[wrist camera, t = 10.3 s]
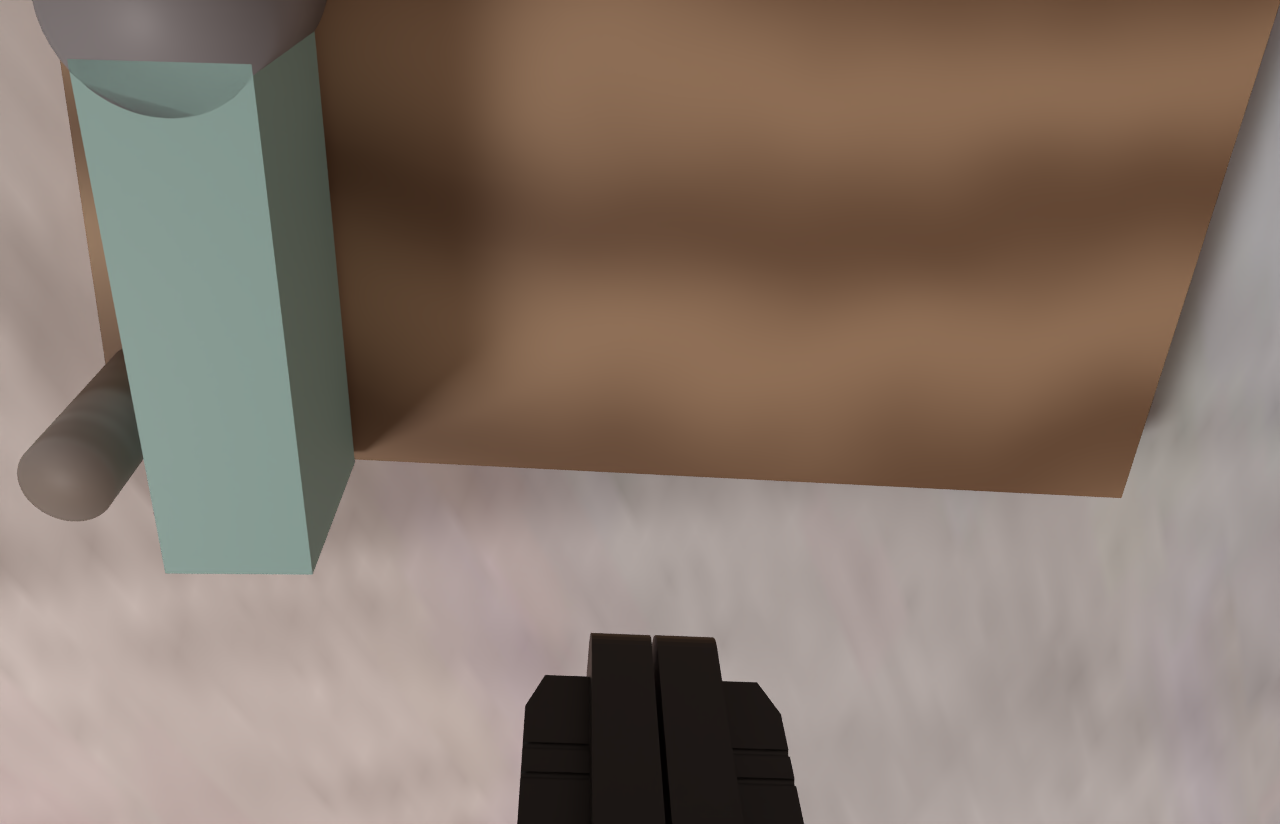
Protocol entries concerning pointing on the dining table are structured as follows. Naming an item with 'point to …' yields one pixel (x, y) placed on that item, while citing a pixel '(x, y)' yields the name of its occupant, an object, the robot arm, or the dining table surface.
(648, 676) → the robot arm
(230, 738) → the dining table surface
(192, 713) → the dining table surface
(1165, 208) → the board
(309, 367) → the hinged leg
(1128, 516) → the dining table surface
